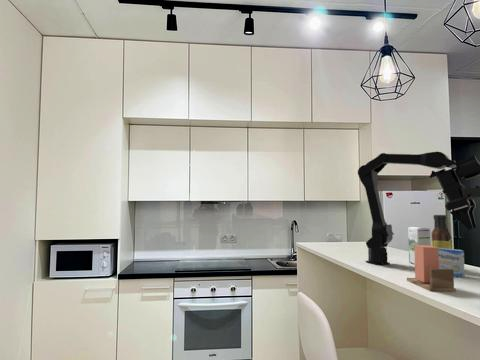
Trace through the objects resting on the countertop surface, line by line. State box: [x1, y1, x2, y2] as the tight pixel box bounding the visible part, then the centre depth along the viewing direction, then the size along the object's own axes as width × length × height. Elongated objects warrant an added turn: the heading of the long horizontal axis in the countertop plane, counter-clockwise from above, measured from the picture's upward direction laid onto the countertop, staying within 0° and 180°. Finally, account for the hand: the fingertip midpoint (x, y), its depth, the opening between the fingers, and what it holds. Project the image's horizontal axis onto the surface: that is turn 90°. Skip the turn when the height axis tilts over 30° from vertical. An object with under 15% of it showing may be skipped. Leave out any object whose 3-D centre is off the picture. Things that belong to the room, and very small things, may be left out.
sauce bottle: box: [430, 214, 453, 249], centre depth 113 cm, size 6×6×20 cm
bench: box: [406, 269, 457, 293], centre depth 90 cm, size 12×7×6 cm, turn 1°
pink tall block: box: [414, 245, 439, 283], centre depth 91 cm, size 4×4×10 cm
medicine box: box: [438, 248, 466, 278], centre depth 104 cm, size 8×4×9 cm, turn 47°
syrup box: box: [407, 226, 432, 265], centre depth 122 cm, size 6×6×14 cm
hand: (473, 228), depth 102 cm, fingers open, 9 cm apart
